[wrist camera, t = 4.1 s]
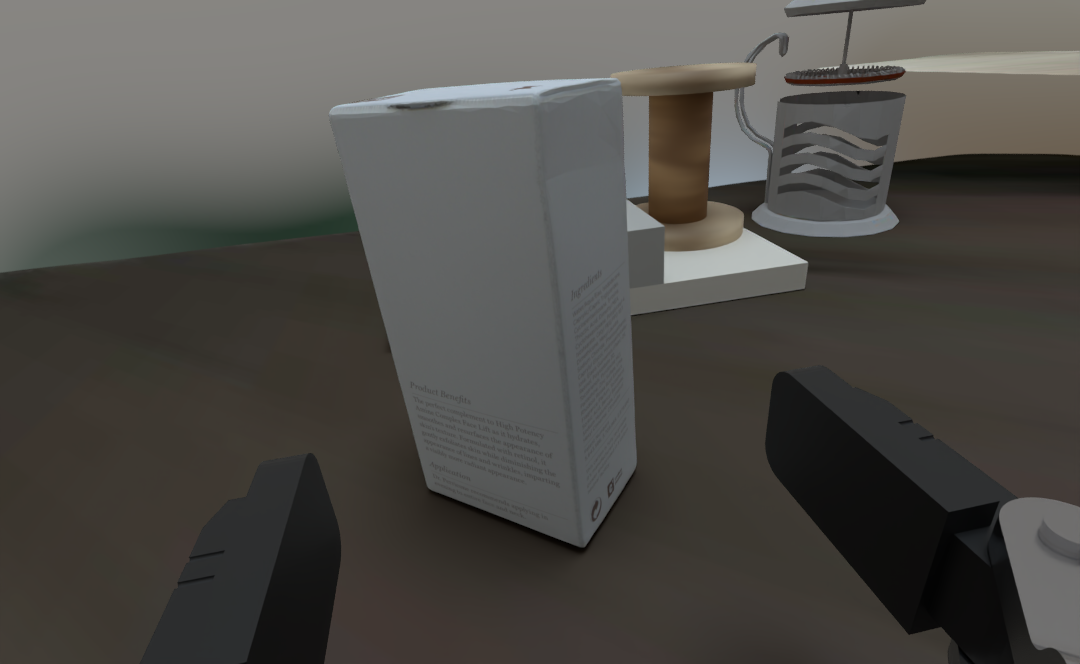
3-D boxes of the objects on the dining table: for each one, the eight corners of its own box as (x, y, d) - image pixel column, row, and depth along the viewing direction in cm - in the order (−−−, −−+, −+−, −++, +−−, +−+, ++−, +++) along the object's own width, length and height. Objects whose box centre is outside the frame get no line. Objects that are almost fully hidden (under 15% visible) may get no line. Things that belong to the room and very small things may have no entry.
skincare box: (641, 466, 19) (640, 70, 14) (581, 564, 16) (549, 89, 10) (490, 422, 22) (441, 82, 17) (412, 496, 19) (319, 100, 13)
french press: (896, 243, 36) (1012, -312, 25) (711, 228, 41) (737, -229, 30) (901, 203, 43) (992, -238, 32) (743, 195, 49) (774, -182, 38)
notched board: (695, 222, 43) (698, 161, 41) (804, 288, 31) (816, 206, 29) (401, 261, 40) (389, 197, 38) (391, 351, 28) (372, 265, 26)
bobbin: (708, 208, 41) (715, 62, 36) (767, 240, 34) (786, 63, 29) (599, 222, 40) (594, 73, 35) (637, 258, 33) (637, 77, 28)
